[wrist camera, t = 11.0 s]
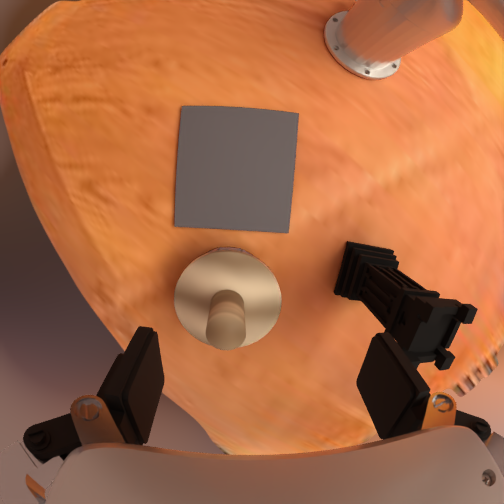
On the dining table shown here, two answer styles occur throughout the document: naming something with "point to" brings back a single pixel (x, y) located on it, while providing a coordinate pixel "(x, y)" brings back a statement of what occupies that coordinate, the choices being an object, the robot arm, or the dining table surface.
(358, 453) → the robot arm
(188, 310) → the lid
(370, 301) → the chess piece
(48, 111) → the dining table surface
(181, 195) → the rubber mat
